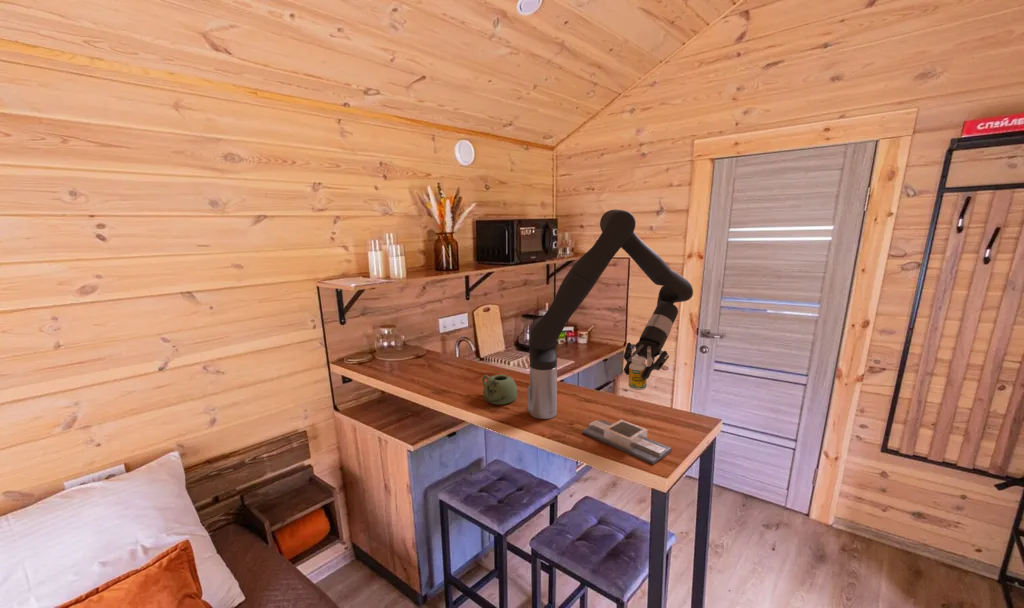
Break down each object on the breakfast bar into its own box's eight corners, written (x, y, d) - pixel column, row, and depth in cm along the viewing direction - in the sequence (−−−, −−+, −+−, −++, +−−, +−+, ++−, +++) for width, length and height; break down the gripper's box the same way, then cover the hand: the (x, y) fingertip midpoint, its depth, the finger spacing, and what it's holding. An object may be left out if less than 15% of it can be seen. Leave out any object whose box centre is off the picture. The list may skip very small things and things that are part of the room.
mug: (524, 398, 156) (524, 376, 154) (501, 409, 147) (500, 386, 145) (494, 388, 167) (494, 367, 165) (470, 397, 157) (470, 376, 156)
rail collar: (582, 432, 129) (582, 421, 129) (602, 422, 136) (602, 411, 135) (653, 464, 112) (654, 451, 111) (671, 451, 118) (672, 438, 117)
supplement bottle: (644, 384, 132) (646, 355, 130) (647, 391, 127) (649, 361, 125) (627, 383, 133) (628, 355, 131) (629, 390, 128) (630, 360, 126)
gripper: (632, 321, 136) (610, 364, 131) (674, 329, 126) (652, 376, 120) (640, 334, 141) (619, 376, 135) (681, 342, 130) (660, 388, 125)
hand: (634, 375), depth 128 cm, fingers closed on supplement bottle, 5 cm apart
